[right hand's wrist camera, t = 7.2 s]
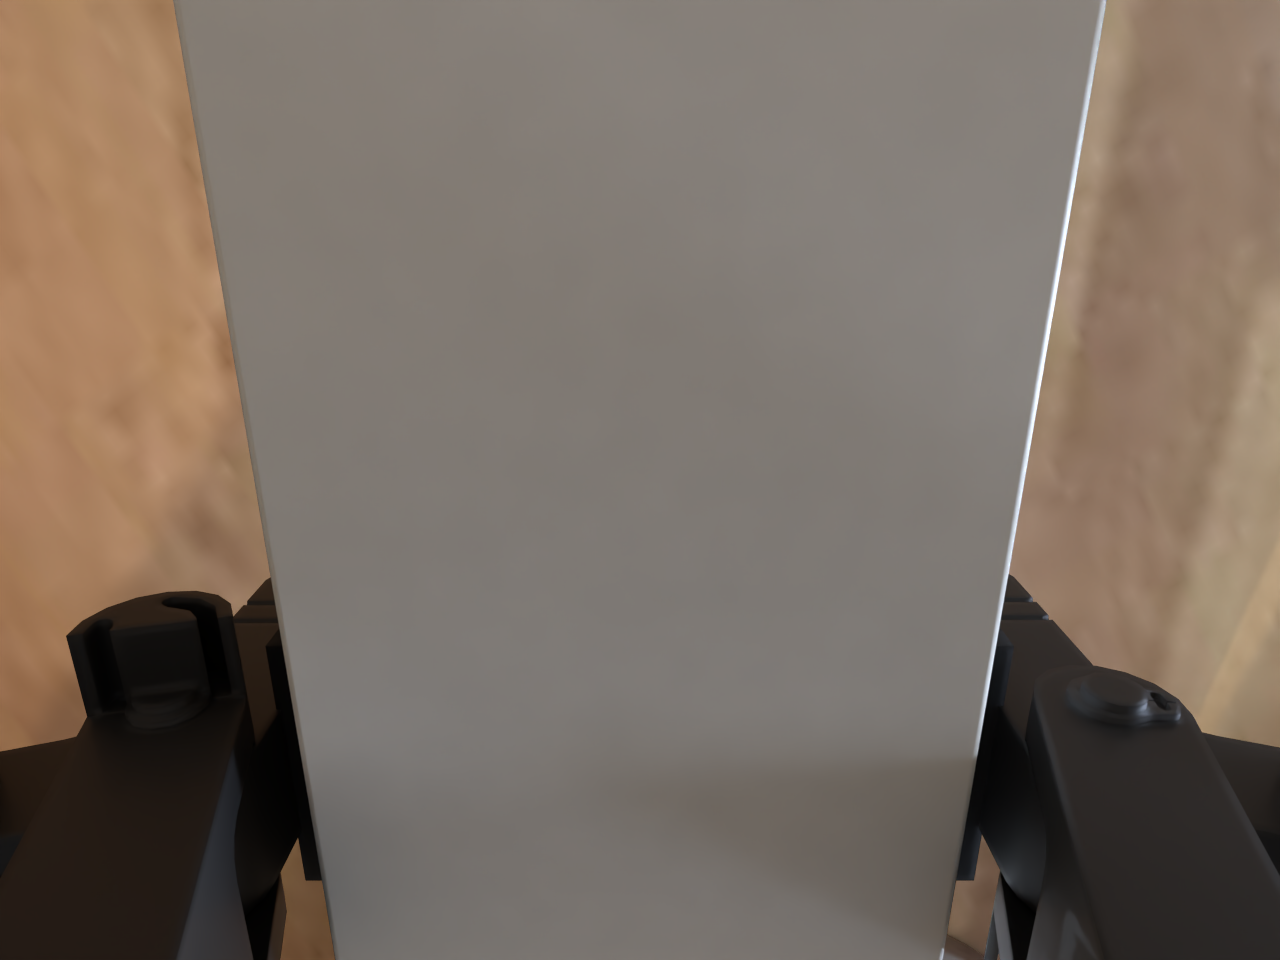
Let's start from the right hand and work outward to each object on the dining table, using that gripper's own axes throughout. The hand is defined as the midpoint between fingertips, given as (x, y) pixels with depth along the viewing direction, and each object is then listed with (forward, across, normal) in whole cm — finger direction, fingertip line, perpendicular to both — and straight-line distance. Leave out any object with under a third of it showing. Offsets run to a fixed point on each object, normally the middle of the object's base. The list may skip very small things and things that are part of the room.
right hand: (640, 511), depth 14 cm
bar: (0, 0, -21) cm, 21 cm away
